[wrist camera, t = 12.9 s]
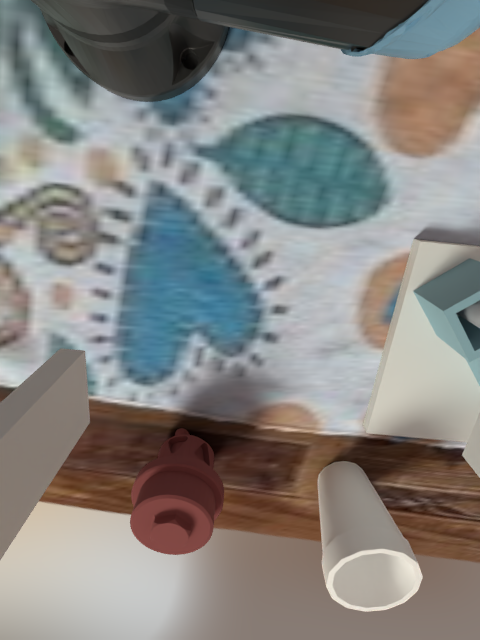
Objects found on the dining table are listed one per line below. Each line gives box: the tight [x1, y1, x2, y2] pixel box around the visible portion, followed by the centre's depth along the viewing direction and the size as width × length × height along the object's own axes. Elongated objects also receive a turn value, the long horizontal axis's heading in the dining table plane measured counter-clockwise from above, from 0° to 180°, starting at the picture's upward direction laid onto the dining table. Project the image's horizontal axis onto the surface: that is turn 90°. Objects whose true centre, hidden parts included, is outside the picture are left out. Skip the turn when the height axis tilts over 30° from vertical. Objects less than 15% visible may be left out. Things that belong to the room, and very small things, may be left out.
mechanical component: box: [130, 428, 224, 555], centre depth 40 cm, size 12×10×10 cm
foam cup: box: [318, 461, 423, 612], centre depth 41 cm, size 10×9×13 cm
